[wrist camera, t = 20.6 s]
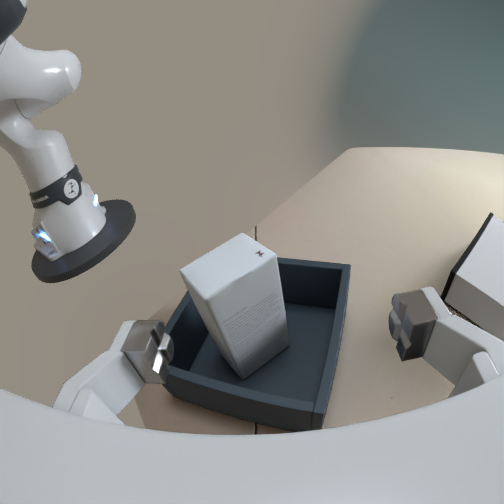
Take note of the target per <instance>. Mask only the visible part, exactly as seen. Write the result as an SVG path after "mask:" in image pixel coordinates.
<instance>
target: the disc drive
mask: <svg viewBox="0 0 504 504" xmlns="http://www.w3.org/2000/svg"><path fill="white" fill-rule="evenodd" d="M440 298H441V299H442V301H443V302H444V301H445V302H446V303H448V304H449V305H451V306H452V307H454V308H455V309H456V310H458V311H459V312H461V313H462V314H463V315H465V316H466V317H468V318H469V319H470V320H472V321H473V322H474V323H476V324H477V325H479V326H480V327H481V328H483V329H484V330H485V331H487V332H488V333H489V334H491V335H493V336H495V337H496V338H498V339H500V340H502V341H503V342H504V222H503V221H501V220H499V219H497V218H496V217H494V216H493V214H492V213H491V212H490V214H489V215H488V217H487V219H486V220H485V222H484V224H483V225H482V227H481V228H480V230H479V231H478V233H477V235H476V236H475V238H474V239H473V241H472V242H471V244H470V245H469V246H468V248H467V249H466V251H465V252H464V254H463V255H462V256H461V258H460V259H459V261H458V262H457V263H456V265H455V266H454V267H453V269H452V270H451V272H450V275H449V278H448V280H447V283H446V285H445V288H444V290H443V293H442V295H441V297H440Z"/></svg>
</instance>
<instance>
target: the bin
mask: <svg viewBox="0 0 504 504" xmlns="http://www.w3.org/2000/svg"><path fill="white" fill-rule="evenodd" d="M277 261H278V268H279V274H280V281H281V287H282V294H283V300H284V307H285V314H286V321H287V328H288V335H289V342H290V345H289V346H288V347H286V348H285V349H284V350H283V351H281V352H280V353H279V354H277V355H276V356H275V357H274V358H272V359H271V360H270V361H268V362H267V363H266V364H264V365H263V366H262V367H260V368H259V369H258V370H256V371H255V372H254V373H252V374H251V375H250V376H248V377H247V378H246V379H244V380H243V379H241V378H240V377H239V375H238V374H237V373H236V372H235V371H234V370H233V368H232V367H231V366H230V365H229V364H228V362H227V361H226V360H225V359H224V358H223V356H222V355H221V354H220V353H219V351H218V349H217V347H216V345H215V343H214V341H213V339H212V337H211V335H210V333H209V331H208V329H207V328H206V326H205V323H204V322H203V320H202V318H201V316H200V314H199V312H198V309H197V307H196V305H195V303H194V301H193V299H192V297H191V295H190V293H189V291H187V292H186V294H185V296H184V297H183V299H182V300H181V302H180V304H179V305H178V307H177V308H176V310H175V312H174V313H173V315H172V317H171V318H170V320H169V321H168V323H167V325H166V326H165V327H166V329H165V333H166V334H168V335H169V336H170V337H171V339H172V341H173V345H174V355H173V359H172V361H171V362H170V363H169V364H167V366H168V368H169V373H168V376H167V380H166V383H165V384H162V385H163V386H164V387H165V388H166V389H167V390H168V391H169V392H170V393H171V394H172V395H173V396H174V397H177V398H180V399H182V400H185V401H188V402H190V403H193V404H196V405H199V406H202V407H205V408H208V409H211V410H214V411H217V412H220V413H223V414H226V415H230V416H233V417H236V418H240V419H243V420H247V421H251V422H255V423H258V424H262V425H267V426H271V427H275V428H279V429H284V430H289V431H294V432H303V431H312V430H320V429H322V425H323V422H324V418H325V414H326V410H327V406H328V402H329V397H330V393H331V389H332V384H333V380H334V375H335V370H336V365H337V360H338V355H339V350H340V344H341V338H342V333H343V327H344V320H345V314H346V307H347V298H348V290H349V280H350V270H351V265H349V264H339V263H329V262H319V261H308V260H298V259H288V258H277Z"/></svg>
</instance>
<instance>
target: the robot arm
mask: <svg viewBox="0 0 504 504" xmlns="http://www.w3.org/2000/svg"><path fill="white" fill-rule="evenodd" d="M26 2H27V0H0V146H1V147H2V148H4V149H5V150H6V151H7V152H8V153H9V154H10V155H11V156H12V157H13V159H14V160H15V161H16V163H17V165H18V167H19V169H20V171H21V173H22V175H23V177H24V179H25V181H26V183H27V185H28V188H29V189H30V194H29V195H30V197H31V202H32V204H33V207H34V208H35V214H34V219H33V228H34V230H32V235H33V236H34V238H36V240H37V241H36V242H35V244H34V247H35V249H36V250H37V251H39V252H40V253H41V254H42V255H43V256H45V257H46V258H47V259H48V260H50V261H51V262H52V261H55V260H57V259H58V258H60V257H61V256H63V255H65V254H67V253H70V252H72V251H74V250H76V249H78V248H80V247H81V246H83V245H85V244H86V243H87V242H89V241H90V240H91V239H93V238H94V237H95V236H96V235H97V234H98V233H99V232H100V231H101V229H102V228H103V227H104V225H105V223H106V217H105V212H106V209H105V207H104V206H101V207H100V205H99V203H98V201H97V199H98V197H97V195H95V196H94V194H93V192H92V190H91V189H90V187H89V185H88V184H86V183H83V182H82V177H81V174H80V171H79V169H78V167H77V165H75V164H74V162H73V160H72V157H71V155H70V152H69V149H68V147H67V144H66V141H65V138H64V136H63V135H62V134H61V133H60V132H58V131H56V130H51V129H42V130H38V129H36V128H35V127H34V126H33V125H32V124H31V122H30V119H31V118H32V117H34V116H35V115H37V114H39V113H41V112H42V111H44V110H46V109H48V108H50V107H52V106H53V105H55V104H57V103H59V102H60V101H61V100H63V99H64V98H65V97H67V96H68V95H70V94H71V93H72V92H74V91H75V90H76V89H77V87H78V85H79V83H80V79H81V64H80V62H79V60H78V58H77V57H76V56H75V55H74V54H73V53H72V52H70V51H68V50H58V51H40V50H34V49H30V48H26V47H24V46H23V45H21V44H20V43H19V42H18V41H17V40H16V39H15V38H14V37H13V36H12V35H11V34H12V33H13V32H14V31H15V30H16V29H17V28H18V26H19V25H20V24H21V23H22V20H23V18H24V15H25V13H26V11H27V7H26ZM392 305H393V310H392V311H391V312H390V314H389V329H390V333H391V336H392V338H393V339H395V340H396V341H398V342H397V346H396V348H397V351H398V353H399V356H400V358H401V361H406V360H411V359H415V358H419V357H423V359H425V360H426V361H427V362H428V363H429V364H431V365H432V366H433V367H434V368H435V369H437V370H438V371H439V372H440V373H441V374H442V375H444V376H445V377H446V378H447V379H448V380H449V381H451V382H452V383H453V384H454V385H455V388H454V389H453V391H452V392H451V394H450V395H449V397H448V399H445V400H442V401H440V402H437V403H434V404H431V405H428V406H424V407H421V408H418V409H415V410H411V411H408V412H404V413H401V414H397V415H393V416H389V417H385V418H381V419H376V420H372V421H367V422H362V423H357V424H352V425H346V426H340V427H334V428H327V429H320V430H312V431H303V432H292V433H280V434H261V435H209V434H191V433H178V432H168V431H159V430H151V429H144V428H137V427H130V426H125V424H124V423H123V422H122V421H121V420H120V419H119V418H118V417H117V415H118V414H119V413H120V412H121V411H122V409H123V408H124V407H125V406H126V405H127V404H128V403H129V402H130V401H131V400H132V399H133V398H134V396H135V395H136V394H137V393H138V392H139V391H140V390H141V389H142V388H143V387H144V385H145V383H158V384H165V383H166V380H167V376H168V373H169V368H168V366H167V364H169V363H170V362H171V361H172V359H173V355H174V345H173V341H172V339H171V337H170V336H169V335H168V334H166V333H165V329H166V327H165V325H164V323H163V321H161V320H137V321H132V320H131V321H129V320H128V321H127V320H126V321H125V322H123V323H122V326H121V327H120V329H119V331H118V333H117V335H116V337H115V339H114V341H113V343H112V345H111V347H110V349H109V351H105V352H103V353H102V354H101V355H99V356H98V357H97V358H96V359H94V360H93V361H92V362H90V363H89V364H88V365H86V366H85V367H84V368H83V369H81V370H80V371H79V372H77V373H76V374H75V375H74V376H72V377H71V378H70V379H68V380H67V381H66V382H65V383H64V384H63V386H62V388H61V390H60V392H59V394H58V396H57V398H56V400H55V402H54V405H53V406H52V407H49V406H45V405H43V404H40V403H37V402H34V401H32V400H29V399H26V398H24V397H21V396H18V395H16V394H13V393H11V392H9V391H6V390H4V389H2V388H0V504H504V342H503V341H502V340H500V339H498V338H496V337H495V336H493V335H491V334H489V333H487V332H486V331H484V330H482V329H480V328H479V327H477V326H475V325H473V324H471V323H470V322H468V321H466V320H464V319H462V318H460V317H459V316H457V315H453V316H452V315H451V313H450V311H449V310H448V308H447V307H446V305H445V304H444V302H443V301H442V299H441V298H440V296H439V295H438V294H437V292H436V291H435V289H434V288H433V287H426V288H422V289H419V290H413V291H408V292H403V293H398V294H394V296H393V298H392Z"/></svg>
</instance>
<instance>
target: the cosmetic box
mask: <svg viewBox="0 0 504 504" xmlns="http://www.w3.org/2000/svg"><path fill="white" fill-rule="evenodd" d="M180 274H181V276H182V278H183V280H184V283H185V285H186V287H187V289H188V291H189V293H190V295H191V297H192V299H193V301H194V303H195V305H196V307H197V309H198V312H199V314H200V316H201V318H202V320H203V322H204V323H205V326H206V328H207V329H208V331H209V333H210V335H211V337H212V339H213V341H214V343H215V345H216V347H217V349H218V351H219V353H220V354H221V355H222V356H223V358H224V359H225V360H226V361H227V362H228V364H229V365H230V366H231V367H232V368H233V370H234V371H235V372H236V373H237V374H238V375H239V377H240V378H241V379H243V380H244V379H246V378H247V377H248V376H250V375H251V374H252V373H254V372H255V371H256V370H258V369H259V368H260V367H262V366H263V365H264V364H266V363H267V362H268V361H270V360H271V359H272V358H274V357H275V356H276V355H277V354H279V353H280V352H281V351H283V350H284V349H285V348H286V347H288V346H289V345H290V342H289V335H288V328H287V321H286V314H285V307H284V300H283V294H282V287H281V281H280V274H279V268H278V261H277V255H276V253H274V252H272V251H271V250H269V249H267V248H266V247H264V246H263V245H261V244H260V243H258V242H257V241H255V240H253V239H252V238H250V237H249V236H247V235H246V234H244V233H240V234H238V235H237V236H235V237H233V238H232V239H230V240H229V241H227V242H225V243H224V244H222V245H220V246H219V247H217V248H215V249H213V250H212V251H210V252H208V253H207V254H205V255H203V256H202V257H200V258H198V259H197V260H195V261H194V262H191V263H190V264H188V265H186V266H185V267H183V268H181V269H180Z"/></svg>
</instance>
